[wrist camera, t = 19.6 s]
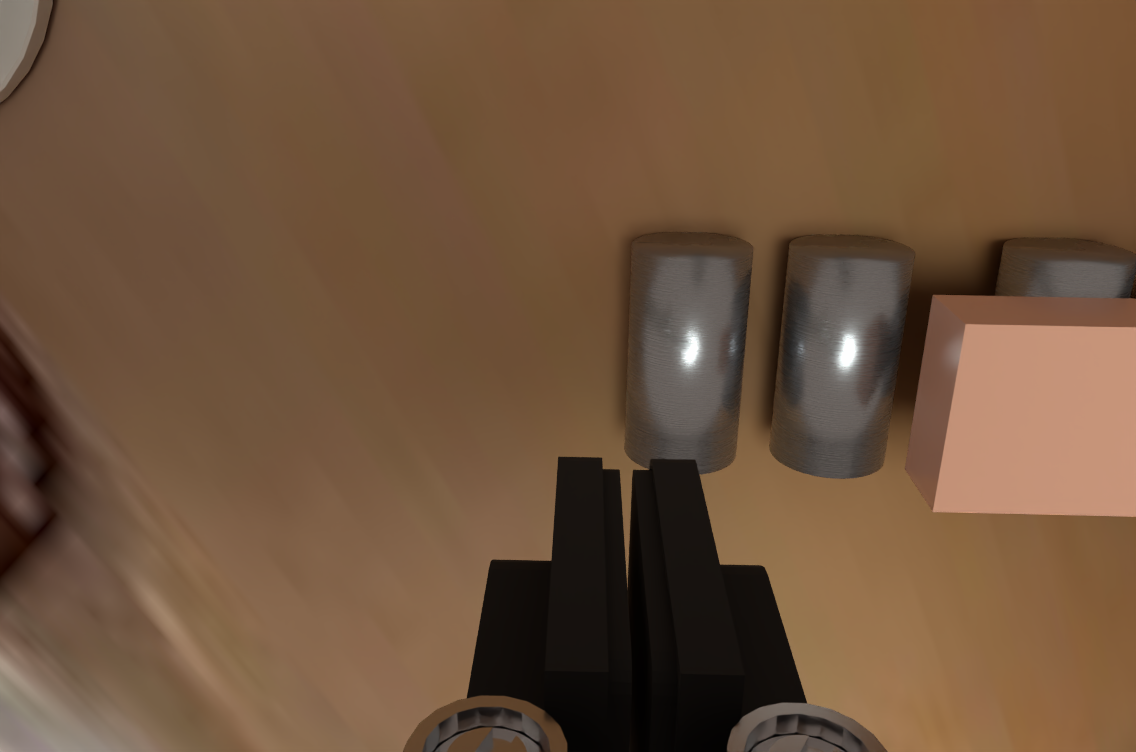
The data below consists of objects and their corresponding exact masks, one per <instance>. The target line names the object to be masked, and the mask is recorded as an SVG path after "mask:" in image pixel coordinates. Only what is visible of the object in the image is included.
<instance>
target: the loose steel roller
mask: <svg viewBox="0 0 1136 752" xmlns="http://www.w3.org/2000/svg"><path fill="white" fill-rule="evenodd" d="M1135 274H1136V254H1134V253H1132V252H1130V251H1128V250H1125V249H1123V248H1119V247H1116V246H1112V245H1108V244H1104V243H1098V242H1093V241H1087V240H1079V239H1071V238H1017V239H1012V240H1009V241H1006V242H1005V243H1004V245H1003V250H1002V256H1001V262H1000V267H999V273H998V279H997V284H996V290H995V296H1023V297H1077V298H1130V296H1131V291H1132V287H1133V283H1134V278H1135Z"/></svg>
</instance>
